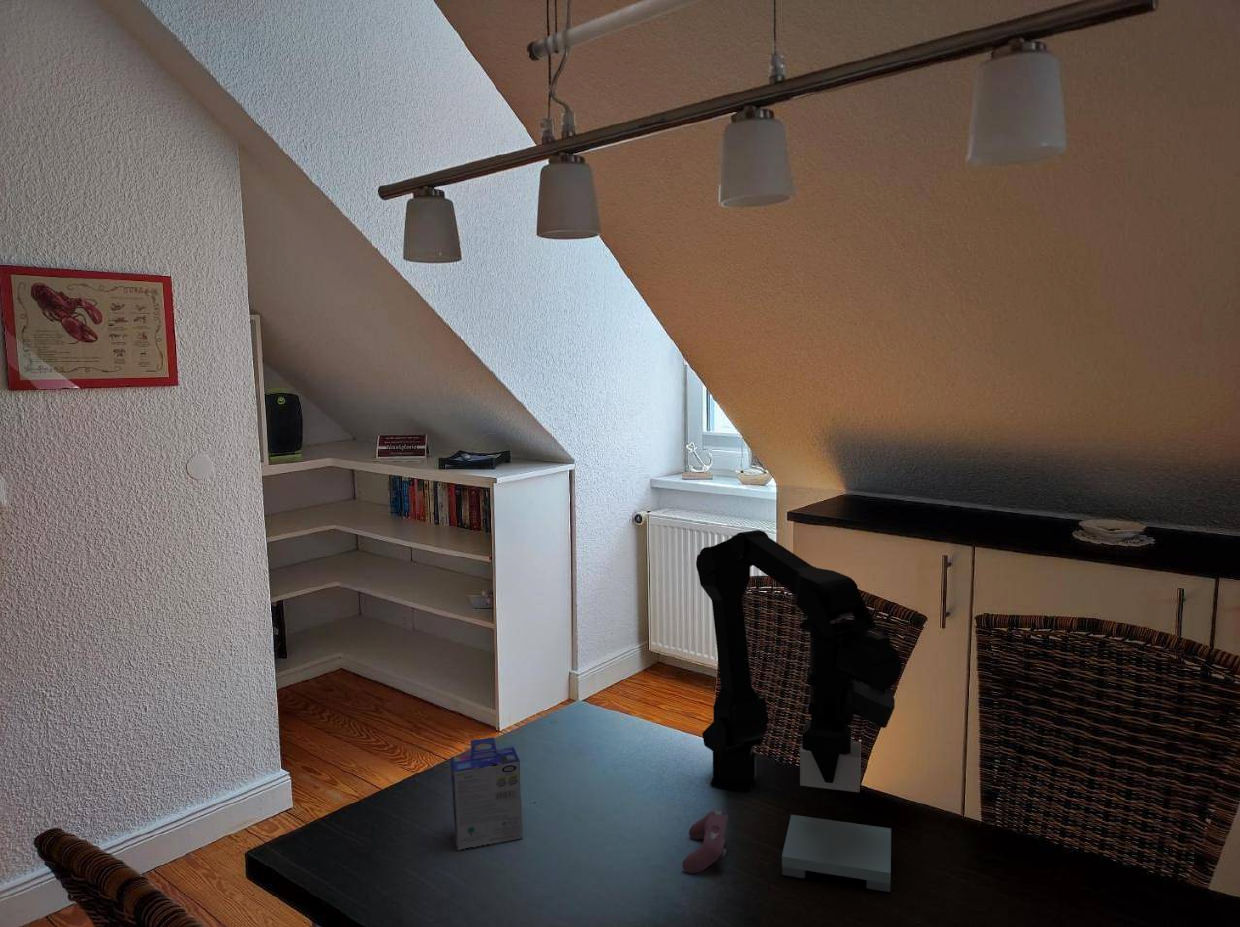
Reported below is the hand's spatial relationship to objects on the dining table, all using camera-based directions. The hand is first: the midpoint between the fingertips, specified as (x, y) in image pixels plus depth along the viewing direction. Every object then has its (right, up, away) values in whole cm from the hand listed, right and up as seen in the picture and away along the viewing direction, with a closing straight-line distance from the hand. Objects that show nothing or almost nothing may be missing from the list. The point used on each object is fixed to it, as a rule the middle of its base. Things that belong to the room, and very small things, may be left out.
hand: (830, 773), depth 122 cm
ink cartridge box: (-49, -12, +6) cm, 51 cm away
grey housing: (0, -1, 0) cm, 1 cm away
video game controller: (-17, -12, 0) cm, 21 cm away
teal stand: (+1, -12, -2) cm, 12 cm away
